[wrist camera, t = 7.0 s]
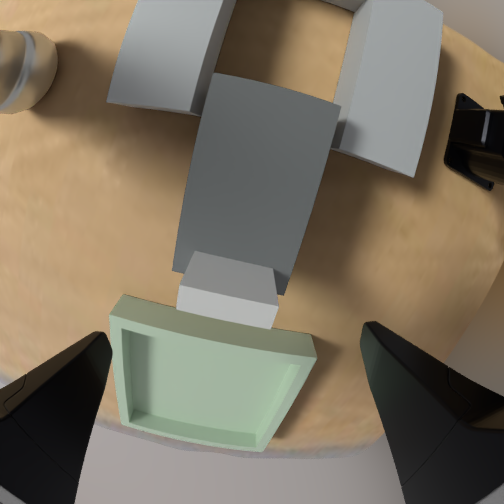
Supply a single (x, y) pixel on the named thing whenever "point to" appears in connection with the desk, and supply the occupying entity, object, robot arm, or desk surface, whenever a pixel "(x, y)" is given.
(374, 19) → the bay housing
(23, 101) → the plastic bottle
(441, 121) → the desk surface
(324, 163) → the grey block with handle
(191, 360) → the tray
